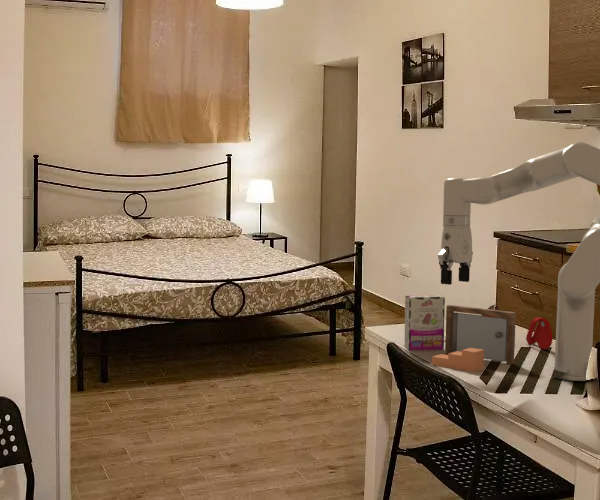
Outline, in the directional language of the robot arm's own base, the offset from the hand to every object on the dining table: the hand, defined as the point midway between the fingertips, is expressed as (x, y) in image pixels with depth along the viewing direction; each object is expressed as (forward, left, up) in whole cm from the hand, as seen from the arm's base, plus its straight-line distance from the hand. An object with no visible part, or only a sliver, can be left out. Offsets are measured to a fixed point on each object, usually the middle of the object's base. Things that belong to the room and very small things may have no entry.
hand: (455, 282), depth 237 cm
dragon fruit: (+5, -34, -22) cm, 41 cm away
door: (+3, -6, -22) cm, 23 cm away
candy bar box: (+14, -7, -22) cm, 27 cm away
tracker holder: (-11, -33, -22) cm, 42 cm away
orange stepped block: (-5, +7, -22) cm, 24 cm away
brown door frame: (-5, -6, -22) cm, 23 cm away
